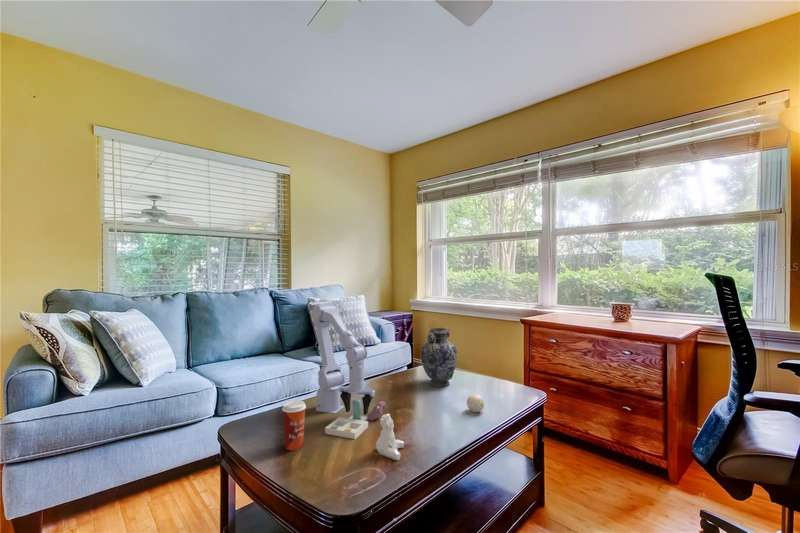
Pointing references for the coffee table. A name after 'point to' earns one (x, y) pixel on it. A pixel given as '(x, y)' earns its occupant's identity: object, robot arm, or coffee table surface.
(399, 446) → the white creature statuette
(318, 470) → the coffee table surface
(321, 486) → the coffee table surface
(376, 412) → the video game controller
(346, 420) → the socket board
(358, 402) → the plug
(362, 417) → the mat
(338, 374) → the robot arm
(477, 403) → the baseball
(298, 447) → the paper cup
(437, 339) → the decorative vase
